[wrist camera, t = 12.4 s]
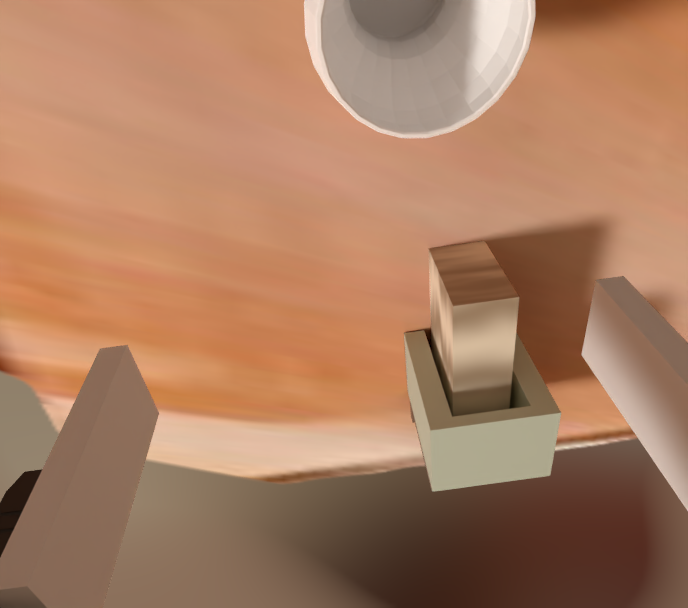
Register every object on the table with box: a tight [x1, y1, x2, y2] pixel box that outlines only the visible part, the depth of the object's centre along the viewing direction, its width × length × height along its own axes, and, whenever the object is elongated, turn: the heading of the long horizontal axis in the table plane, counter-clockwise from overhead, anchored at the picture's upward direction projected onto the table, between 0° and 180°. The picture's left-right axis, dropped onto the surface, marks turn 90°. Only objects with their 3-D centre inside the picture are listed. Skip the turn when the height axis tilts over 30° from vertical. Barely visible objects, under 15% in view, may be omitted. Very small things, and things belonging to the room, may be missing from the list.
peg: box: [429, 241, 519, 417], centre depth 47 cm, size 14×5×9 cm, turn 7°
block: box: [404, 330, 561, 491], centre depth 49 cm, size 8×10×12 cm
